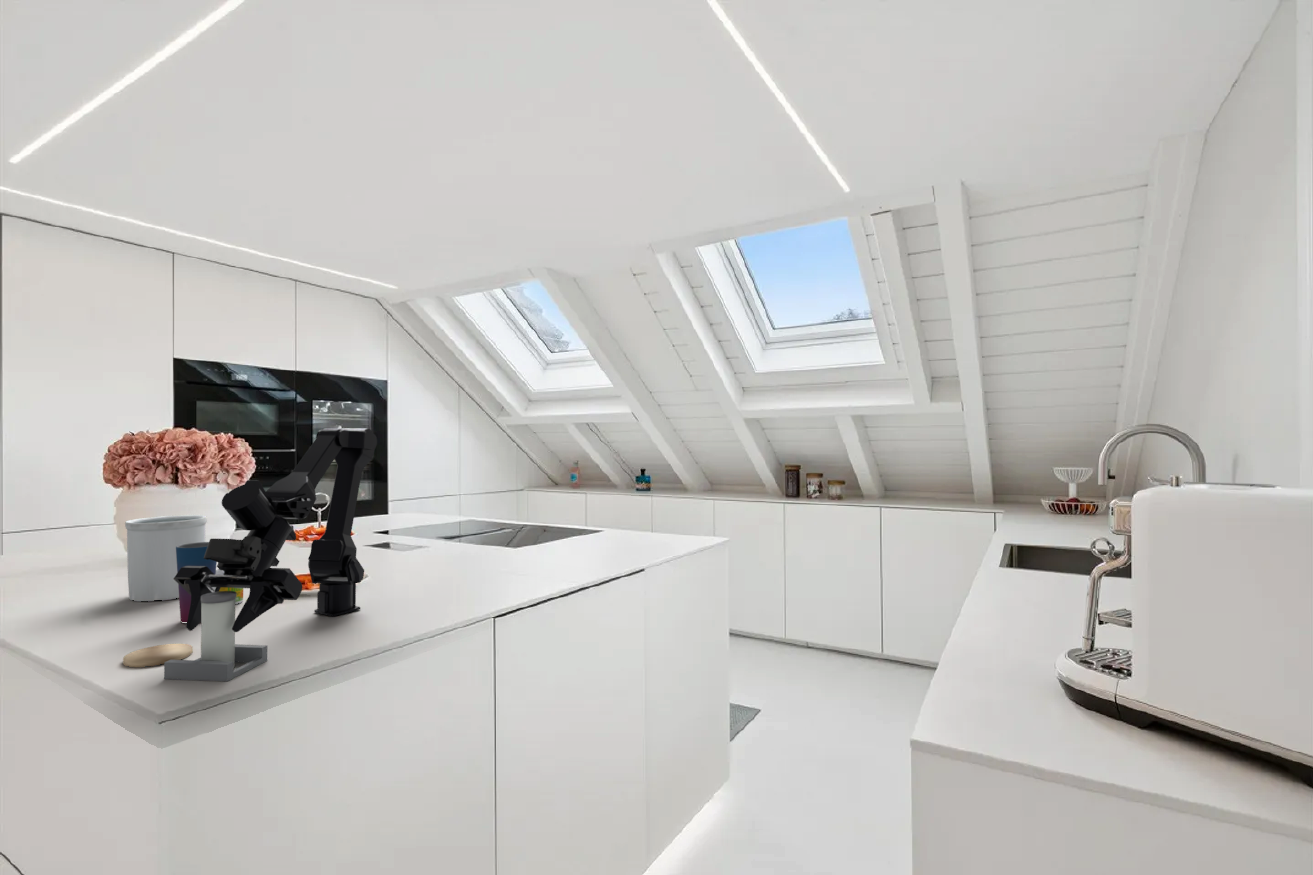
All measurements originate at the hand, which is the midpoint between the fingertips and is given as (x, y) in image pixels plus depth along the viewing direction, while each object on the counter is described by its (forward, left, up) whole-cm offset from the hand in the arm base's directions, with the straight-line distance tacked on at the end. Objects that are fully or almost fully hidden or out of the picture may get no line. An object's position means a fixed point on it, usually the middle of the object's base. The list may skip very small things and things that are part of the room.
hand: (211, 630), depth 98 cm
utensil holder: (-20, -61, -7) cm, 64 cm away
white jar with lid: (-1, -1, -7) cm, 7 cm away
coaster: (+1, -15, -7) cm, 16 cm away
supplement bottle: (-23, -41, -7) cm, 47 cm away
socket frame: (-1, -1, -7) cm, 7 cm away
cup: (-13, -33, -7) cm, 36 cm away
